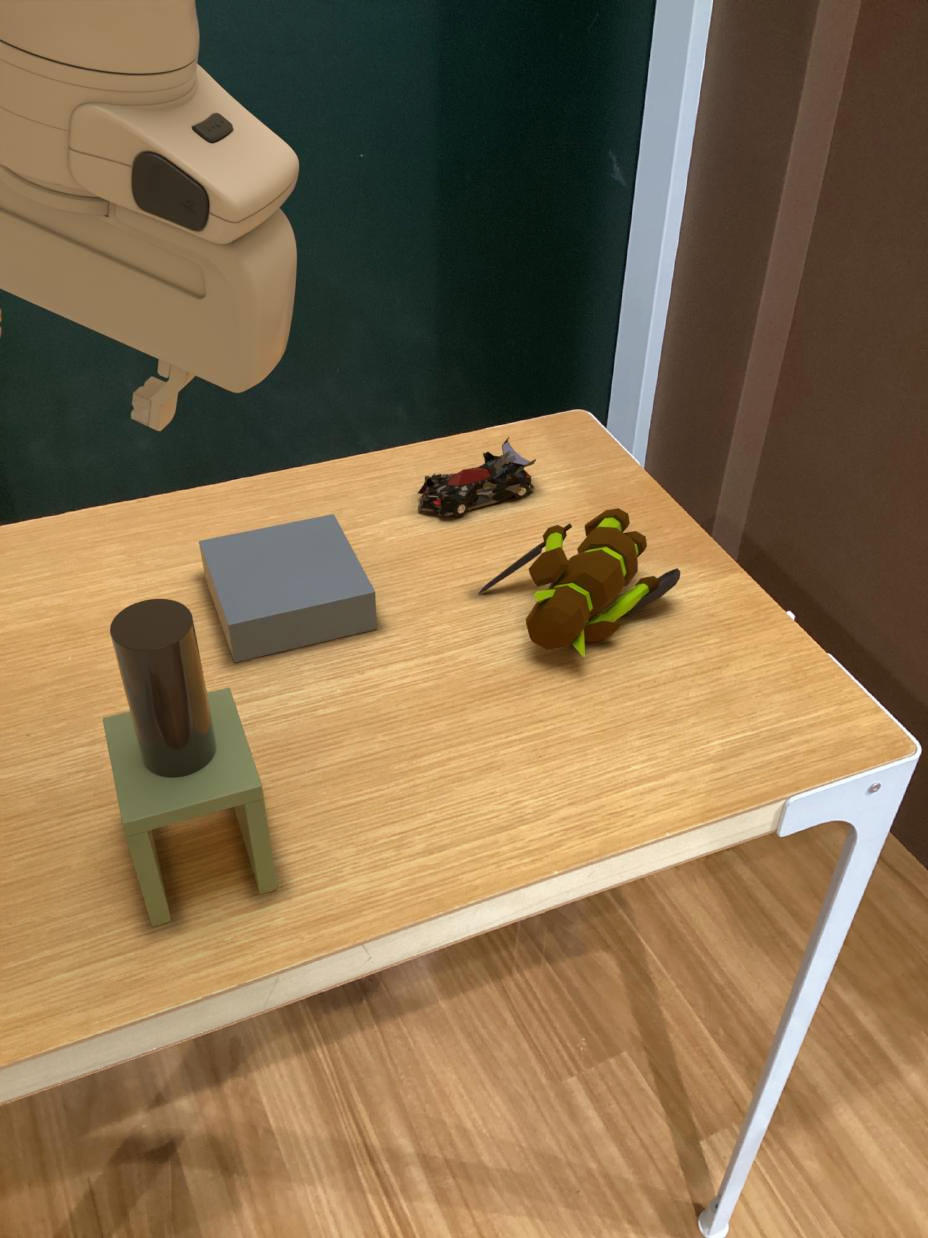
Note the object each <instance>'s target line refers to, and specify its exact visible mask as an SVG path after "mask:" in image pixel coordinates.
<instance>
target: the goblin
mask: <svg viewBox="0 0 928 1238" xmlns="http://www.w3.org/2000/svg"><path fill="white" fill-rule="evenodd" d="M630 524H631V522H630V516H629V512H626V511H624V510H623V509H621V508H618V507H617V508H611V509H606V510H604V511H602V512H601V513H600V514H598V515H597V516H595V517H594V518H592V519H591V520H589V521H588V522H586V523H585V524H584V532H585V536H586V537H585V538H584V539H583V541H581V543H580V544H579V545H578V547H577V548H576V551H577V554H574V555H572V556H571V557H569V559H568V556H567V554H566V552H565V551H564V549H563V547H564V546H563V545H564V543H563V542H564V541H565V539H566V538H567V536H568V535H567V531H569V530H570V529H572V528H573V525H572V524H571V523H568V524H566V525H565V526H561V525H560V524H556V525H552V526H549V527H547V529H546V530H545V532H544V533H543V534H542V539H543V542H541V543H539V544H537V545H536V546H535V547H534V548H532V549H531V550H529V551H528V552H527V553H525V554H524V555H523V556H521V557H520V558H519V559H517V560H516V561H515V562H513V563H512V564H511V565H510V566H509V565H508V567H507V568H506V569H504V570H503V571H501V572H500V573H499V574H498V575H496V576H494V578H492V579H491V580H490V581H489V582H487V583H486V584H485V585H484V586H483V587H482V588H481V589H480V591H478V593H477V595H480V594H481V593H484V592H486V591H488V590H490V589H491V588H492V587H494V586H495V585H497V584H498V583H500V582H501V581H503V580H504V579H505V578H507V577H509V576H510V575H512V574H513V573H515V572H516V571H518V570H519V569H521V568H522V567H524V566H525V565H527V564H528V563H530V562H531V561H532V560H534V559H535V558H536V559H535V560H534V562H533V563H532V564H531V565H530V566H529V568H528V572H529V576H530V577H531V580H532V581H533V584H534V585H535V586H536V587H537V588H539V587H542V586H546V585H549V584H550V585H549V586H548V588H546V589H543V590H541V589H540V590H537V591H536V592H535V593H534V594H533V596H534V598H535V599H536V600H537V601H536V603H535V604H534V605H533V608H532V609H531V611H530V612H529V613H528V615H527V616H526V617H525V626H526V629H527V632H528V636H529V640H530V641H531V642H532V643H533V644H534V645H537V646H538V647H540V648H542V649H544V650H545V651H551V650H552V651H553V650H557V649H563V648H567V647H568V646H570V645H572V646H573V647H574V648H575V650H576V651H577V652H578V653H579V654H580V655H581V656H582V657H583V658H585V657H586V645H585V642H588V643H597V642H599V641H602V640H604V639H607V638H610V637H611V636H612V635H613V634H615V633H616V632H617V631H618V630H619V629H620V628H621V626H622V625H623V624H622V623H619V622H616V621H617V620H619V619H621V617H623V616H624V615H626V614H631V615H633V614H635V613H637V612H640V611H642V610H644V609H646V608H647V607H649V606H650V605H652V604H653V603H655V602H656V601H658V600H660V599H661V598H662V597H663V596H664V595H665V594H667V593H668V592H669V591H671V590H672V589H673V588H674V587H675V586H677V584H678V583H679V581H680V579H681V570H680V569H679V568H678V567H677V568H674V569H672V570H669V571H666V572H665V573H662V574H661V575H660V576H659V577H657V576H655V575H651V576H644V577H641V578H640V579H639V580H638V581H637V582H636V583H635V585H634V586H633V587H632V588H631V589H630V590H628V591H626V592H625V593H624V594H622V595H621V596H620V597H618V598H617V596H619V594H620V593H621V592H622V591H623V589H624V588H625V587H628V585H629V584H630V582H631V581H632V580H633V578H634V577H635V576H636V575H637V573H638V571H639V561H638V560H639V559H638V558H640V556H641V555H642V554H643V553H644V552H645V551H646V549H647V547H648V542H647V536H646V535H644V534H642V533H640V532H639V531H636V530H633V531H627V532H625V531H626V530H627V529H628V527H629V525H630ZM544 548H545V549H544ZM543 549H544V551H543ZM542 551H543V552H542ZM616 598H617V599H616ZM615 599H616V600H615ZM614 600H615V601H614ZM613 601H614V602H613ZM612 602H613V603H612Z"/></svg>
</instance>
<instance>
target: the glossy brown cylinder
mask: <svg viewBox="0 0 928 1238" xmlns="http://www.w3.org/2000/svg"><path fill="white" fill-rule="evenodd" d="M109 634H110V639H111V642H112V647H113V650H114V653H115V658H116V662H117V666H118V670H119V674H120V677H121V682H122V686H123V689H124V693H125V698H126V702H127V705H128V709H129V712H130V713H131V717H132V721H133V725H134V729H135V733H136V737H137V741H138V744H139V748H140V752H141V756H142V760H143V763H144V765H145V766H146V767H147V769H148V770H150V771H151V772H152V773H154V774H156V775H159V776H163V777H170V778H175V777H183V776H187V775H190V774H193V773H195V772H197V771H199V770H201V769H202V768H204V767H205V766H206V765H207V764H208V763H209V762H210V761H211V760H212V758H213V756H214V755H215V752H216V739H215V733H214V728H213V723H212V717H211V712H210V707H209V701H208V696H207V693H208V691H207V686H206V680H205V675H204V670H203V665H202V660H201V653H200V649H199V644H198V639H197V632H196V628H195V622H194V617H193V614H192V611H191V610H190V609H189V608H188V607H187V606H186V605H185V604H184V603H182V602H179V601H178V600H177V601H176V600H173V599H169V598H150V599H144V600H141V601H140V600H139V601H137V602H135V603H132V604H130V605H127V606H126V607H124V609H123V608H122V610H120V611H119V612H118V613H117V614H116V615H115V616H114V617H113V619H112V621H111V623H110V626H109Z"/></svg>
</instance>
